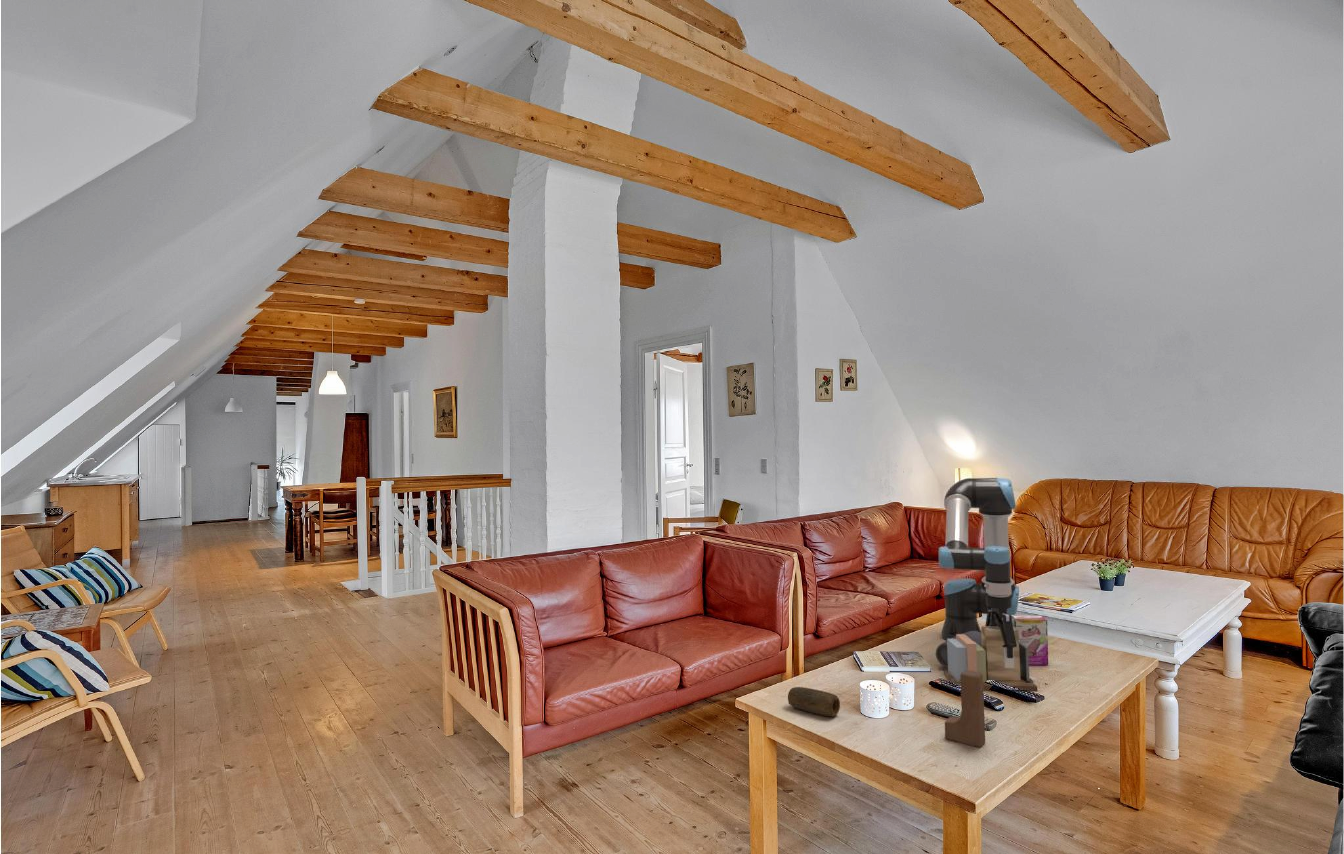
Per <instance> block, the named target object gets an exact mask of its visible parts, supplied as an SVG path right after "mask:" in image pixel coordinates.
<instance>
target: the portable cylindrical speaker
mask: <svg viewBox="0 0 1344 854" xmlns="http://www.w3.org/2000/svg"><path fill="white" fill-rule="evenodd" d="M787 702H788V704H789V705H791V706H792V707H794V708H795V707H796V709H799V710H801V709H802V710H801V711H804V710H805V712H807V711H809V712H808V713H813V714H815V713H816V715H819V714H820V716H825V717H836V716H837V715H838V714H839V712H840V708H841V700H840V697H838V696H837V695H836V694H834V693H831V692H828V691H824V690H819V689H814V688H809V687H803V686H795V687H792V688H790V689H789V691H788V694H787Z"/></svg>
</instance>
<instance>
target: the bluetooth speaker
mask: <svg viewBox="0 0 1344 854" xmlns="http://www.w3.org/2000/svg"><path fill="white" fill-rule="evenodd" d="M963 634H965V635H966V636H967V637H969V638H970V639H971V640H972V641H974V642H976V643H977V644H978V645H979V646H981V647H982V639H981V633H980V632H978V631H969V632H966V633H963ZM951 639H956V636H955V637H953V638H951ZM935 657H936V660H937V661H938V663H939V664H940V665H941V666H942V667H944V668H947V669H948V654H947V640H945V641H943V642H942V643H941V644H940V643H939V645H938V646H937V647H936V649H935Z"/></svg>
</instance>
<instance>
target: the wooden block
mask: <svg viewBox="0 0 1344 854" xmlns="http://www.w3.org/2000/svg"><path fill="white" fill-rule="evenodd" d="M960 679H961V690H960V697H961V698H960V701H961V702H960V704H961V706H960V707H961V713H960V716H959V717H957V716H949V717H948V718H947V719H946V720H945V721H944V738H945V739H946V740H950V741H953V742H957V743H961V744H965V745H968V746H969V745H970V746H972V747H976V748H977V747H978V748H982V746H983V745H984V744H985V742H986V728H985V727H986V722H985V702H984V700H985V699H984V690H983V674H982V673H981V672H975V671H970V670H965V671H963V672H962V673H961V674H960Z"/></svg>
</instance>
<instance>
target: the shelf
mask: <svg viewBox="0 0 1344 854" xmlns="http://www.w3.org/2000/svg"><path fill="white" fill-rule="evenodd" d="M943 675H944V676H945V678H946V679H947V680H948V681H949V680H950V681H951V682H953V683H954V684H956V685H958V686H961V682H957V681H956V679H955V678H954V677H953V676H952V675H951V674H950V673H949V672H948V670H943ZM950 681H949V682H950ZM995 681H997V682H1001V683H1003V684H1007V685H1009V686H1013V687H1015V688H1020V689H1022V690H1027V691H1026V692H1037V691H1038V685H1036V684H1035V683H1027V682H1025V681H1024V680H1023V679H1022V678H1021V681H1011V680H995ZM951 682H950V683H951ZM992 686H993V685H990V684H987V683H985V682H983V691H988V690H989V689H990V688H991V687H992Z"/></svg>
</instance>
